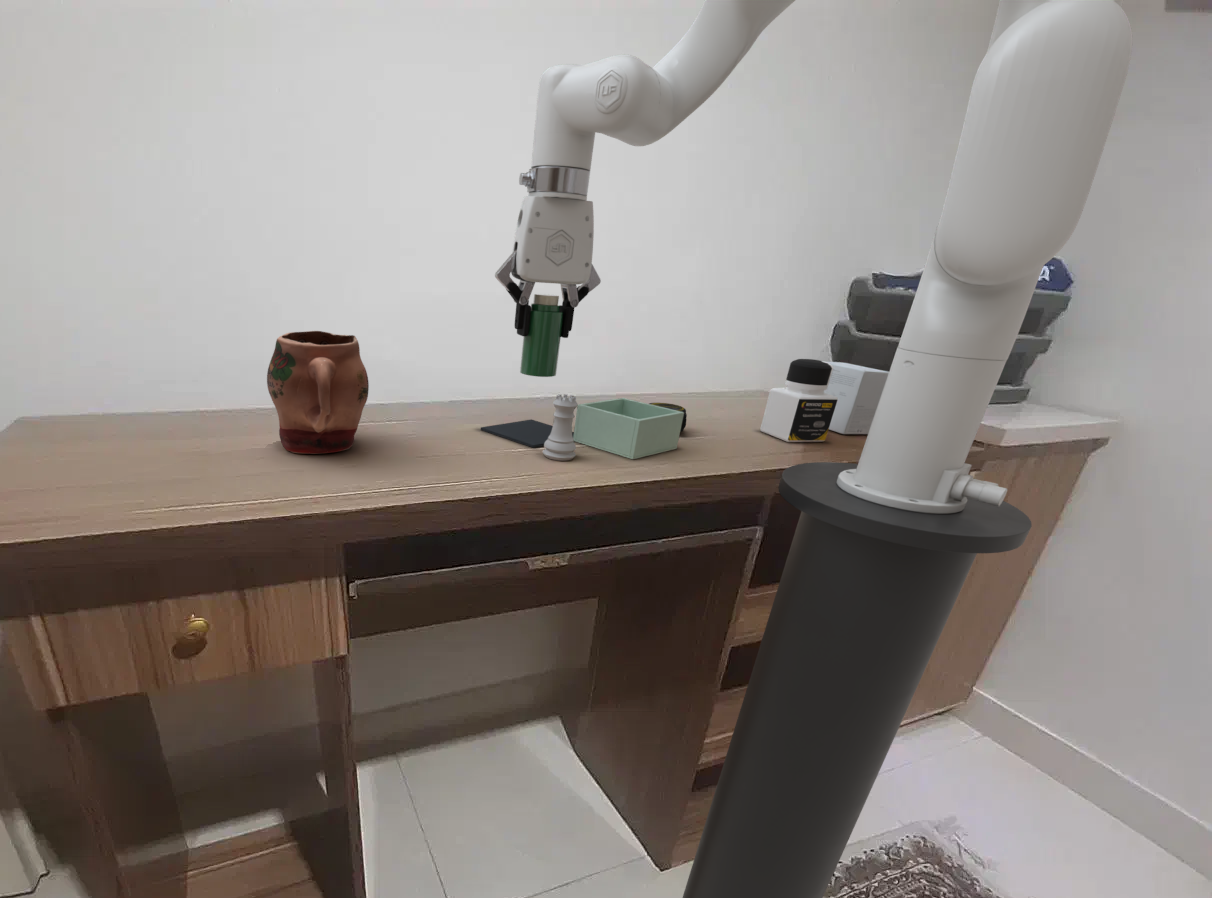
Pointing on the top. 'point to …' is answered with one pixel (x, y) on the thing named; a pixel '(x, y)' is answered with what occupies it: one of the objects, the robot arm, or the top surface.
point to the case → (627, 427)
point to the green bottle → (542, 337)
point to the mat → (523, 432)
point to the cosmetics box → (855, 396)
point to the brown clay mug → (317, 390)
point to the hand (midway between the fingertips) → (542, 334)
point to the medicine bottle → (801, 404)
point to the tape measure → (674, 407)
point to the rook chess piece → (562, 430)
